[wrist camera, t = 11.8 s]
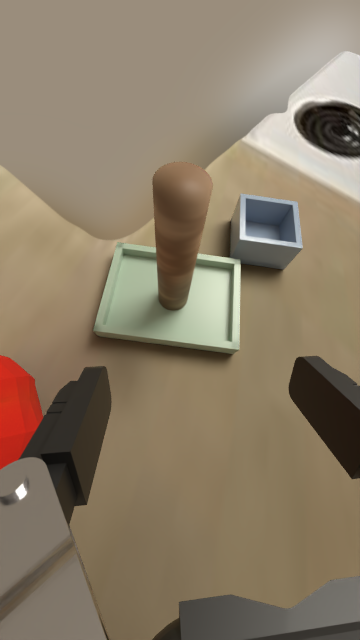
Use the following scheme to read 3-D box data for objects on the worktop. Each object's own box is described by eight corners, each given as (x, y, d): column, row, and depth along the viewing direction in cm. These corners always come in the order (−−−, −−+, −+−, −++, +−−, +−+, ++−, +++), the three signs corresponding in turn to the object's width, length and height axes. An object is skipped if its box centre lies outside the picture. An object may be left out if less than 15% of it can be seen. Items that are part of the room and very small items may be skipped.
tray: (98, 336, 26) (93, 330, 24) (120, 253, 30) (117, 242, 28) (233, 354, 26) (239, 349, 24) (235, 269, 30) (240, 259, 28)
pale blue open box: (229, 261, 31) (239, 239, 26) (231, 219, 33) (240, 193, 29) (283, 269, 31) (302, 248, 27) (280, 227, 34) (297, 201, 29)
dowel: (156, 308, 26) (147, 199, 12) (160, 282, 28) (157, 158, 14) (185, 312, 26) (210, 208, 12) (189, 286, 28) (214, 166, 14)
